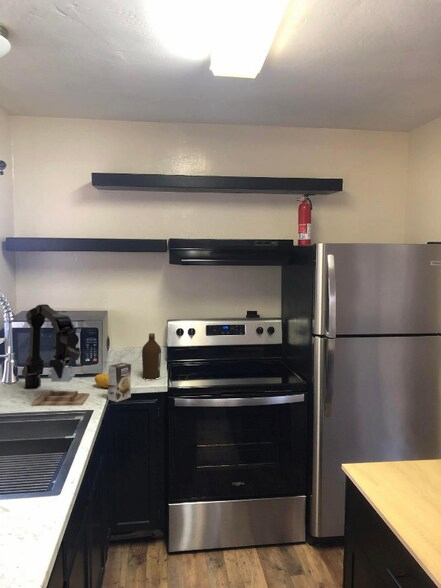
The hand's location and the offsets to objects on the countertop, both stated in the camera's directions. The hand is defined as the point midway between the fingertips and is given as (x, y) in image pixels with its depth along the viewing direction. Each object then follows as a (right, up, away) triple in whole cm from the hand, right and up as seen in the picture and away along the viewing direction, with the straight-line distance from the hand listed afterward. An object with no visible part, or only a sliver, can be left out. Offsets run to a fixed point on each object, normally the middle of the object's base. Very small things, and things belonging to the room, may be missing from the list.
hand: (61, 377), depth 201 cm
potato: (+16, -10, +22) cm, 29 cm away
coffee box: (+25, -11, +5) cm, 28 cm away
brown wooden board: (0, -11, +1) cm, 11 cm away
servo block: (0, -2, 0) cm, 2 cm away
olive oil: (+35, -9, +43) cm, 56 cm away
